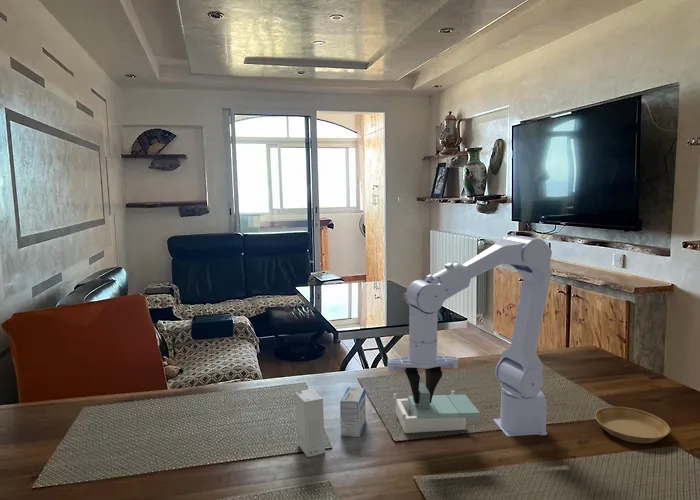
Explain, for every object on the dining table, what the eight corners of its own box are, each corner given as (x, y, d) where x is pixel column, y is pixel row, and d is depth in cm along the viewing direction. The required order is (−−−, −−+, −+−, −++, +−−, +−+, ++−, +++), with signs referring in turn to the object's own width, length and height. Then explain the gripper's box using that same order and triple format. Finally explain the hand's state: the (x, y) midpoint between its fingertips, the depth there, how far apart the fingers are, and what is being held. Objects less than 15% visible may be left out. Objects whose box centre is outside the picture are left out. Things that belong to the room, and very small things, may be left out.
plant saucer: (592, 439, 110) (593, 428, 110) (595, 411, 123) (596, 401, 123) (672, 456, 103) (673, 444, 103) (666, 424, 116) (667, 414, 116)
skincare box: (326, 453, 105) (325, 398, 103) (305, 458, 103) (304, 402, 101) (315, 439, 110) (314, 387, 109) (295, 444, 108) (294, 391, 107)
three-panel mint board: (465, 398, 111) (466, 379, 110) (479, 417, 102) (480, 396, 102) (407, 400, 110) (408, 380, 109) (417, 418, 101) (418, 397, 100)
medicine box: (360, 439, 110) (359, 402, 109) (340, 437, 111) (339, 400, 110) (366, 422, 118) (365, 387, 117) (347, 420, 119) (347, 386, 118)
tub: (453, 410, 124) (453, 390, 123) (468, 432, 113) (469, 410, 112) (393, 413, 122) (393, 393, 121) (402, 436, 111) (403, 414, 110)
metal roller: (426, 417, 120) (425, 407, 121) (428, 414, 118) (427, 404, 119) (410, 418, 119) (408, 408, 121) (412, 415, 117) (410, 405, 119)
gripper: (451, 331, 108) (450, 391, 110) (385, 334, 106) (384, 395, 108) (462, 342, 101) (460, 406, 103) (390, 345, 99) (390, 409, 101)
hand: (422, 401), depth 105 cm, fingers closed on three-panel mint board, 2 cm apart
